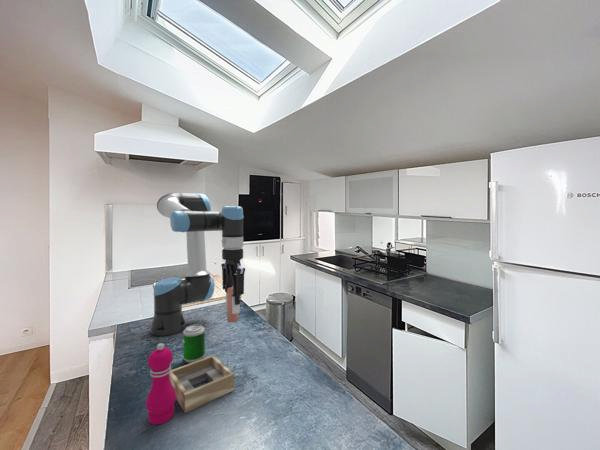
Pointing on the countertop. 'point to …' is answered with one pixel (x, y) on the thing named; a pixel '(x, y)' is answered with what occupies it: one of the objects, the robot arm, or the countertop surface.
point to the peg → (230, 306)
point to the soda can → (193, 343)
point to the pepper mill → (160, 386)
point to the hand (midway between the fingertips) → (232, 310)
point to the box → (199, 372)
